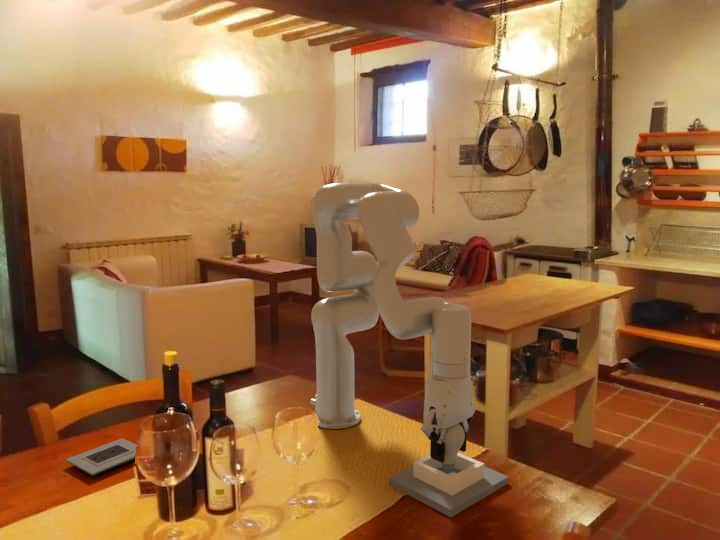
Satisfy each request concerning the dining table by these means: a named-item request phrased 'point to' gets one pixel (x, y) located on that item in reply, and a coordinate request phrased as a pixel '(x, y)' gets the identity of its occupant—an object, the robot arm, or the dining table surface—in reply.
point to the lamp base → (448, 483)
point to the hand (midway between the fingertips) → (448, 453)
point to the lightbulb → (452, 446)
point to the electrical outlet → (104, 457)
